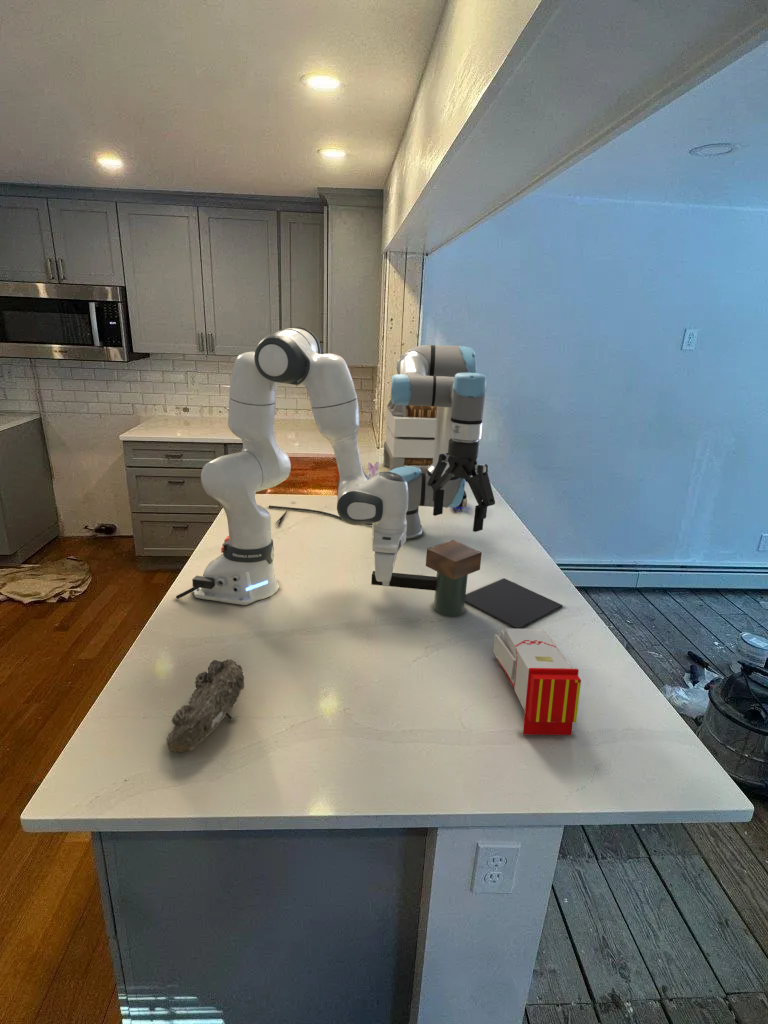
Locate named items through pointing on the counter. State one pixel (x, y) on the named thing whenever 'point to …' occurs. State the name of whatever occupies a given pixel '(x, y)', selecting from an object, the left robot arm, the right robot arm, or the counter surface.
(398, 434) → the white wooden crate
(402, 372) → the right robot arm
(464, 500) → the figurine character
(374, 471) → the figurine
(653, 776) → the counter surface
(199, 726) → the fossil
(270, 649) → the counter surface
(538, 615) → the coaster
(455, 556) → the brown square block
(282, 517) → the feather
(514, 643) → the toy
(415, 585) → the green mallet
